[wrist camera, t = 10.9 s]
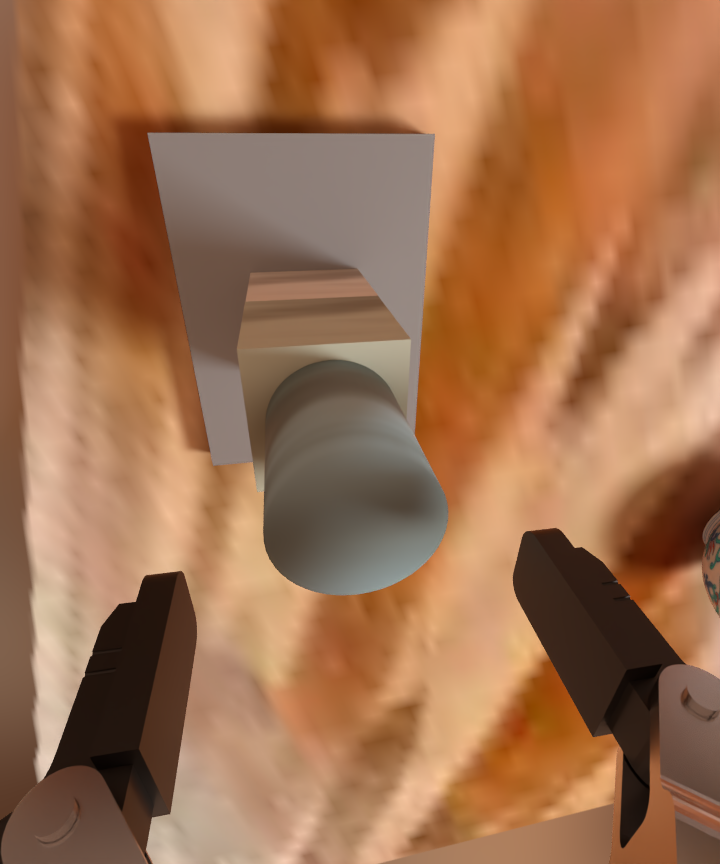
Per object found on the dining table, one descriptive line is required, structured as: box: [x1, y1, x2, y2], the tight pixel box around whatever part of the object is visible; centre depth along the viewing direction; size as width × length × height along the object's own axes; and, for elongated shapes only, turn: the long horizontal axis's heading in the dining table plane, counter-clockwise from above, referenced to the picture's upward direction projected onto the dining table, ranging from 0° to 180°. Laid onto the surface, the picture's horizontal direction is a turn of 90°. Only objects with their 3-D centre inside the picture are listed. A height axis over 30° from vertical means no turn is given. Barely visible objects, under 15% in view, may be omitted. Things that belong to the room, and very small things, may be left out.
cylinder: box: [263, 360, 448, 595], centre depth 15 cm, size 5×5×6 cm
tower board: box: [147, 133, 435, 466], centre depth 28 cm, size 19×14×2 cm
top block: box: [237, 296, 411, 492], centre depth 20 cm, size 6×6×6 cm
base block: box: [245, 269, 378, 302], centre depth 25 cm, size 6×6×6 cm
